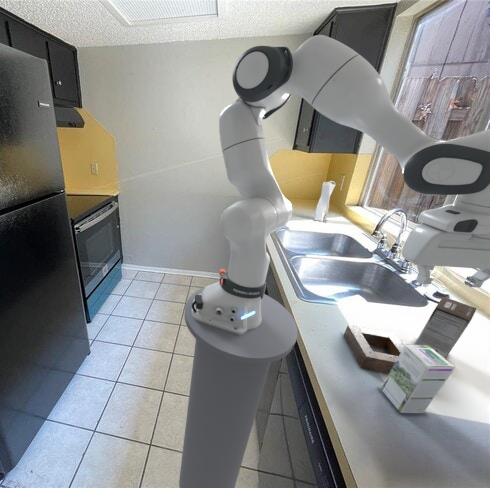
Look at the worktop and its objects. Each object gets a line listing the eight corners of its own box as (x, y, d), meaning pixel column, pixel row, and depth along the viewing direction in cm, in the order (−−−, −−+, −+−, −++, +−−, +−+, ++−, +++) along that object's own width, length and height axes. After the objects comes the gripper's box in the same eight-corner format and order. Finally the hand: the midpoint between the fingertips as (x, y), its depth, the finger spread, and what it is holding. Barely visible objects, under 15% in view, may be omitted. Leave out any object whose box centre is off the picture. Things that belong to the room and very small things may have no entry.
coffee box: (417, 339, 77) (443, 295, 71) (446, 353, 73) (477, 307, 66) (408, 353, 72) (435, 306, 66) (439, 369, 68) (472, 321, 61)
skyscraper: (325, 222, 177) (338, 182, 166) (312, 220, 181) (323, 180, 170) (325, 219, 184) (337, 180, 172) (313, 217, 188) (324, 178, 176)
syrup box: (424, 414, 56) (458, 366, 50) (398, 413, 56) (428, 366, 50) (402, 390, 62) (430, 344, 56) (378, 389, 61) (404, 343, 55)
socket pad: (360, 367, 67) (366, 356, 65) (343, 335, 78) (347, 324, 76) (415, 379, 64) (422, 367, 63) (389, 343, 75) (394, 333, 74)
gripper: (523, 217, 49) (484, 279, 55) (411, 211, 50) (384, 273, 56) (568, 229, 43) (519, 297, 49) (440, 222, 45) (407, 289, 50)
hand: (446, 284), depth 52 cm, fingers open, 8 cm apart
